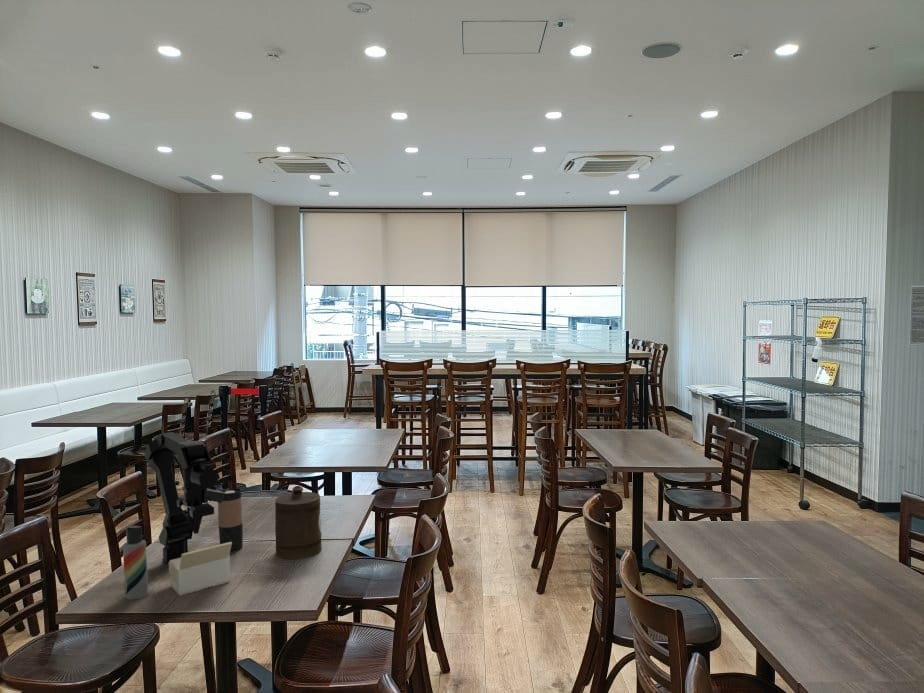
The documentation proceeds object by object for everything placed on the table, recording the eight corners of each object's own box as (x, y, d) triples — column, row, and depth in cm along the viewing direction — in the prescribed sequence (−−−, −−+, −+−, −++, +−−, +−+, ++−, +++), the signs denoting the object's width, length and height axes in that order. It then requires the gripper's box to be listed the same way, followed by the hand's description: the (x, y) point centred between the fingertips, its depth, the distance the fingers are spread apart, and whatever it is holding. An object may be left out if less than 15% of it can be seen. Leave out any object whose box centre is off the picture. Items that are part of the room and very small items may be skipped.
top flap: (181, 553, 168) (182, 555, 167) (231, 541, 176) (232, 543, 176) (179, 568, 170) (179, 569, 170) (228, 555, 179) (228, 557, 179)
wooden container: (331, 548, 205) (329, 483, 204) (296, 563, 193) (294, 494, 192) (300, 540, 213) (299, 478, 212) (266, 554, 201) (264, 488, 200)
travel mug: (235, 553, 202) (233, 494, 201) (214, 552, 203) (212, 493, 203) (247, 545, 209) (245, 488, 209) (227, 544, 211) (225, 487, 210)
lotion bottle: (121, 597, 170) (118, 527, 170) (141, 589, 175) (138, 521, 174) (131, 602, 167) (128, 530, 167) (151, 594, 172) (149, 524, 171)
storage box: (168, 585, 177) (167, 560, 177) (220, 571, 187) (219, 547, 187) (177, 596, 170) (176, 570, 170) (231, 581, 180) (230, 556, 179)
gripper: (230, 483, 184) (232, 534, 185) (211, 473, 199) (213, 520, 199) (191, 490, 177) (194, 543, 178) (175, 479, 192) (177, 528, 192)
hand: (196, 533), depth 187 cm, fingers closed
